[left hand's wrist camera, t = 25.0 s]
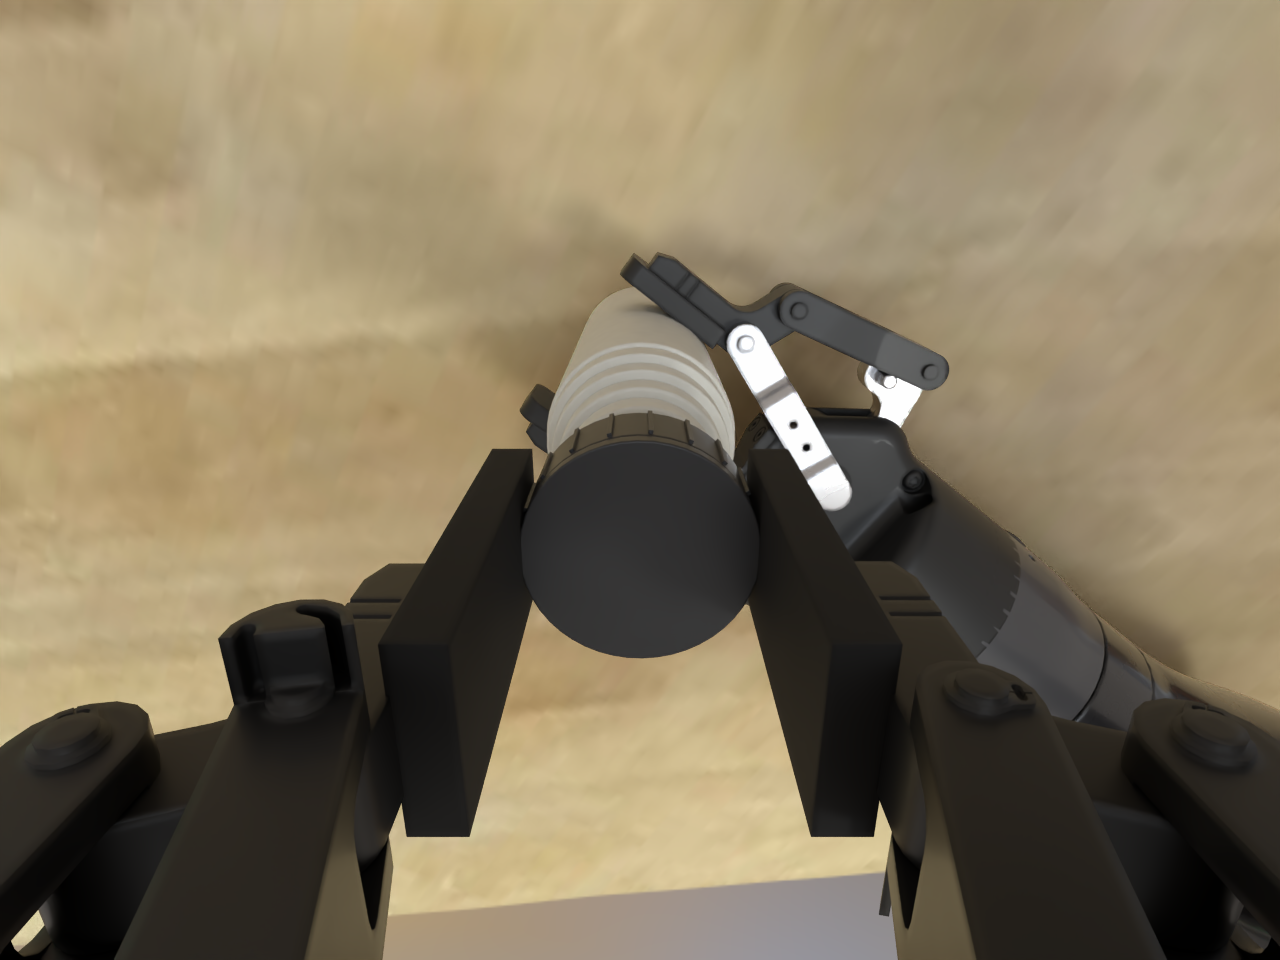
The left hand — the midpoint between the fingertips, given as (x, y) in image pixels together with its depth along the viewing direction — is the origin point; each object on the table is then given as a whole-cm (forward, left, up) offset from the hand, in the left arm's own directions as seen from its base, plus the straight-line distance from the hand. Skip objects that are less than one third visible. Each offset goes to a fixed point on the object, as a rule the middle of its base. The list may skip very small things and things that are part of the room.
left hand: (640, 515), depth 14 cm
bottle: (0, 0, -18) cm, 18 cm away
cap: (0, 0, +1) cm, 1 cm away
